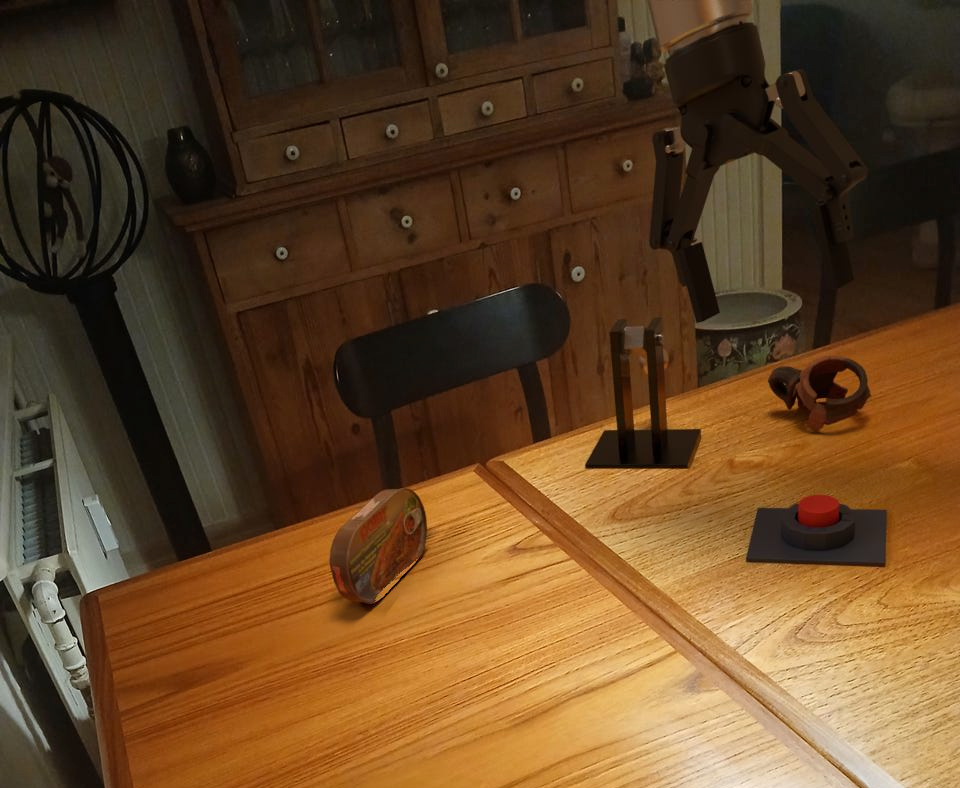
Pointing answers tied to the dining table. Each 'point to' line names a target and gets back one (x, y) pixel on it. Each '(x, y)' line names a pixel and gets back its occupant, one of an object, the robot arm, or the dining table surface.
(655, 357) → the bracket
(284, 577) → the dining table surface
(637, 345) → the lever
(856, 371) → the pottery mug
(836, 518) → the button
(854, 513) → the button box
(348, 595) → the tin
